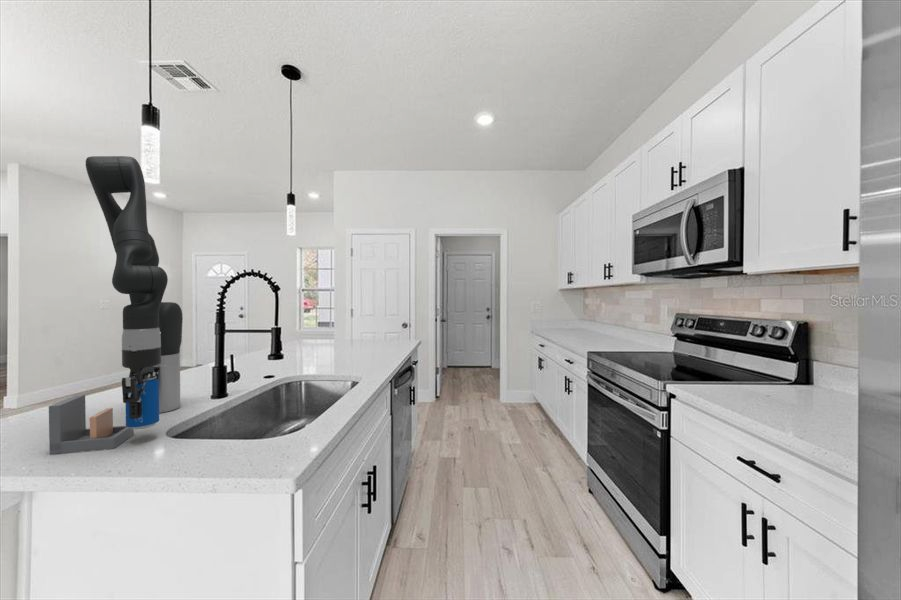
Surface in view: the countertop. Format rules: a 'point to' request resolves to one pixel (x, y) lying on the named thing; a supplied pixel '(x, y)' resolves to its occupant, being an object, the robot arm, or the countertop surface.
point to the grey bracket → (78, 429)
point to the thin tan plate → (101, 424)
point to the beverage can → (146, 406)
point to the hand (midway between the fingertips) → (142, 413)
